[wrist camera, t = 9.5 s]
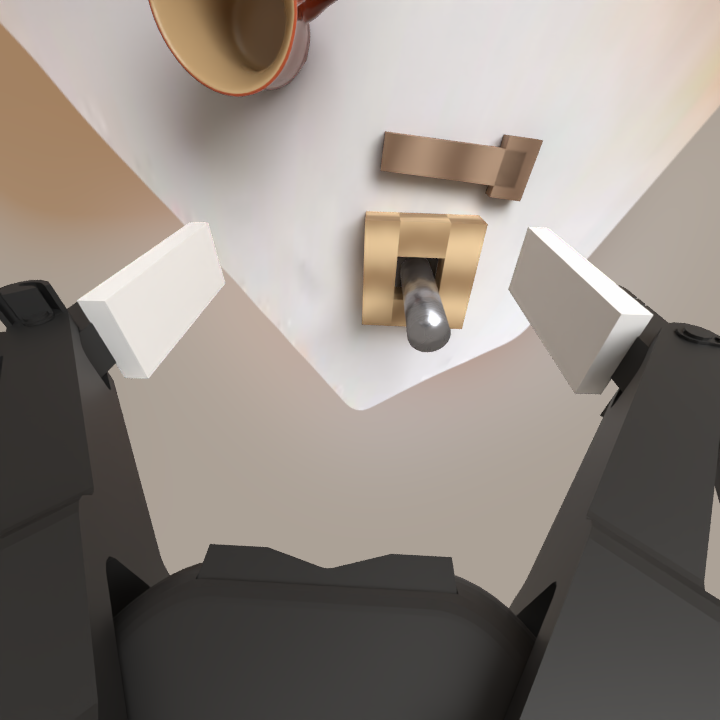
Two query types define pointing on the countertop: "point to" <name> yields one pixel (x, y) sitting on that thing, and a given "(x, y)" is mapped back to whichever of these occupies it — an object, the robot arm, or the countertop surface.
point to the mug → (238, 40)
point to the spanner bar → (464, 161)
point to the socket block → (419, 239)
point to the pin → (423, 306)
